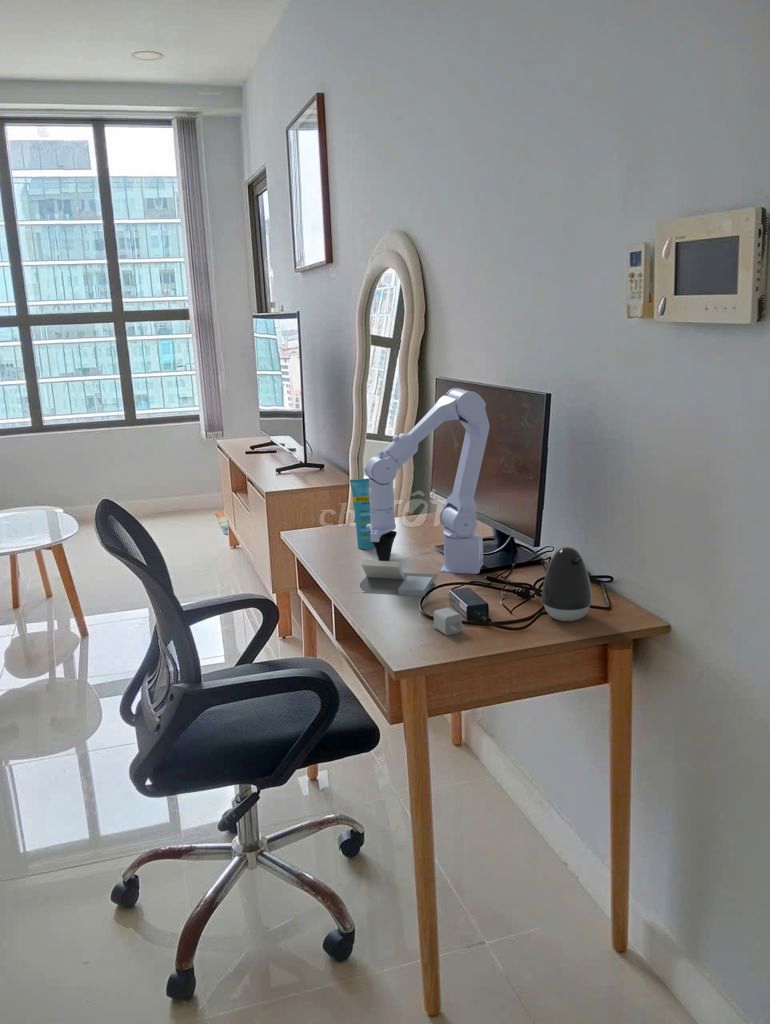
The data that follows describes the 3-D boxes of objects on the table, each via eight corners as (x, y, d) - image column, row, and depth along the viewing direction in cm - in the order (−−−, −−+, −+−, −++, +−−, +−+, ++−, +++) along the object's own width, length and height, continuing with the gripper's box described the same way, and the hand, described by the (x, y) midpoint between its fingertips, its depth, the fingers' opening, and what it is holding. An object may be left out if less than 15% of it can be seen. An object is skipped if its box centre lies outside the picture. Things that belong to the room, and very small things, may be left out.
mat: (438, 575, 205) (438, 574, 205) (424, 597, 191) (423, 596, 191) (370, 572, 210) (370, 570, 210) (352, 593, 196) (352, 592, 196)
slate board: (407, 581, 201) (407, 575, 201) (432, 582, 200) (432, 577, 199) (398, 594, 193) (398, 588, 192) (423, 596, 191) (423, 590, 191)
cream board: (404, 574, 204) (399, 561, 199) (403, 579, 203) (398, 566, 198) (368, 572, 206) (362, 559, 201) (367, 577, 205) (361, 565, 200)
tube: (355, 551, 227) (351, 481, 222) (352, 546, 232) (348, 477, 227) (382, 548, 229) (379, 478, 224) (378, 543, 233) (375, 474, 228)
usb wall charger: (450, 624, 176) (450, 606, 175) (469, 636, 170) (468, 617, 169) (433, 628, 174) (433, 610, 173) (452, 640, 168) (451, 621, 167)
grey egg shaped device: (556, 629, 171) (557, 558, 167) (533, 611, 181) (533, 543, 177) (601, 622, 174) (603, 551, 170) (576, 605, 183) (577, 537, 179)
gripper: (374, 499, 207) (377, 552, 211) (356, 514, 194) (359, 571, 197) (402, 500, 205) (404, 553, 209) (386, 515, 192) (388, 572, 196)
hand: (384, 562), depth 203 cm, fingers closed
